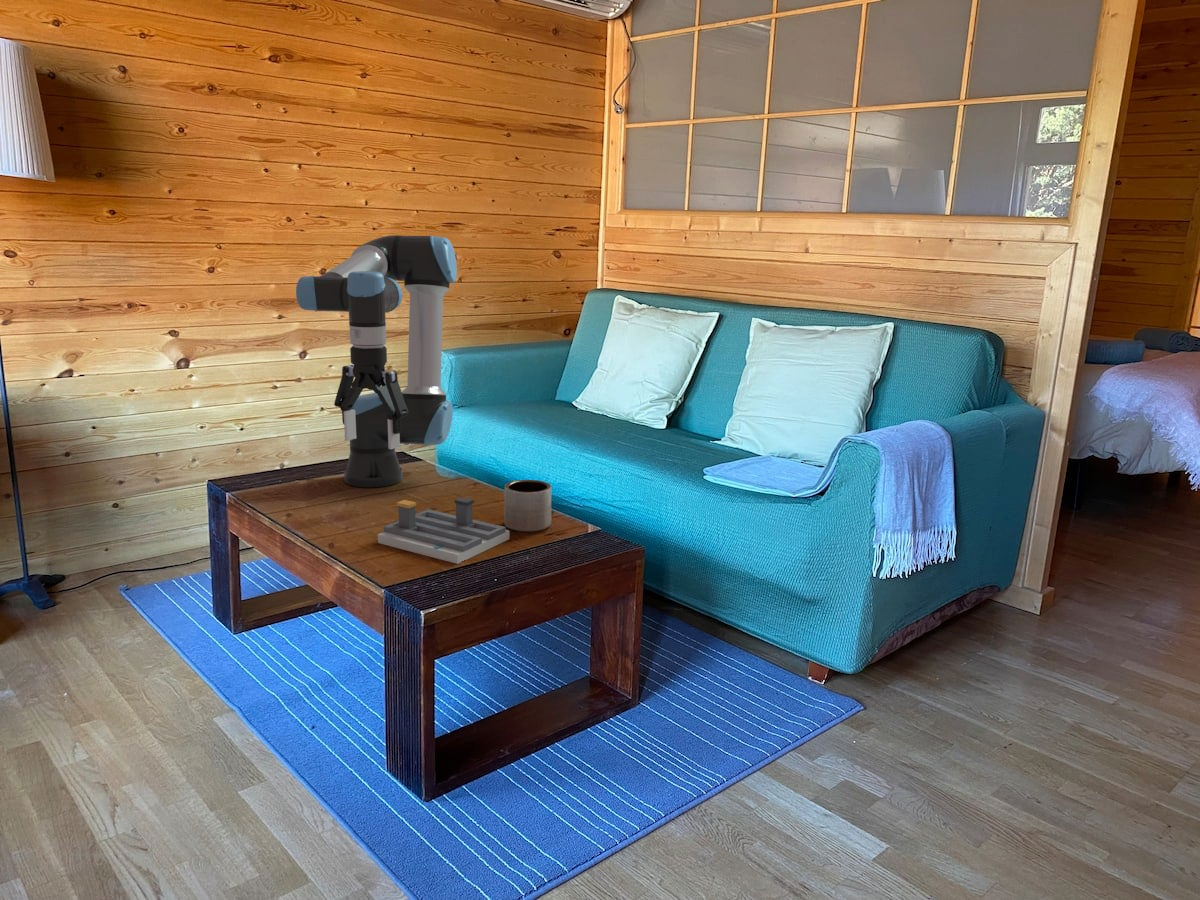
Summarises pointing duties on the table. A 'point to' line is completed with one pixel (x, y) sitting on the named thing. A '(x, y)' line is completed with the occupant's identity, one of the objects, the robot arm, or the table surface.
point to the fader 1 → (407, 515)
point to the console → (443, 537)
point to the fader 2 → (464, 512)
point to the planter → (527, 505)
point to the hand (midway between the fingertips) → (372, 443)
